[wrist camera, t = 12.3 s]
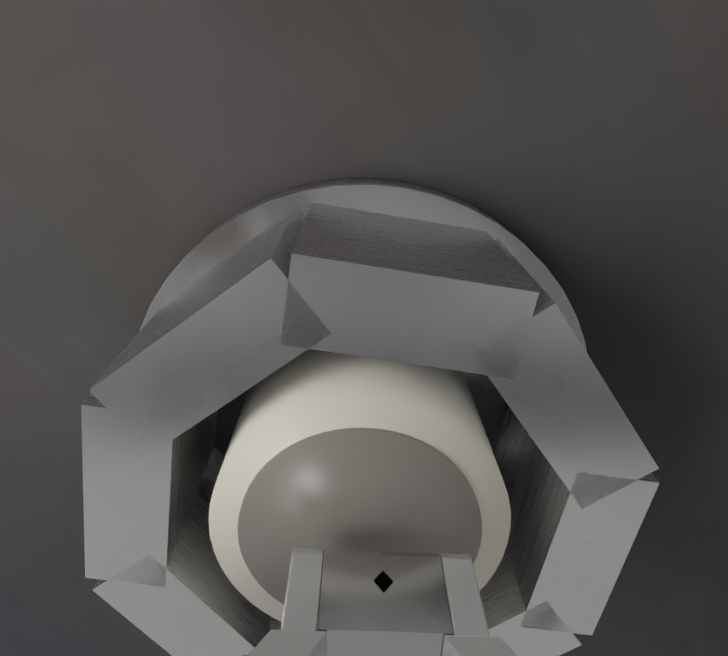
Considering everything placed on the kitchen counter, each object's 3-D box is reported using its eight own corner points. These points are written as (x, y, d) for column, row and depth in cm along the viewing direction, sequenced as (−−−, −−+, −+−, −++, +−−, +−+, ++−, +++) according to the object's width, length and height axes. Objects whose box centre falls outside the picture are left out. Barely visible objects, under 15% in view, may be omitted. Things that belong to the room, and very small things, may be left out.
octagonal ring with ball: (319, 614, 18) (307, 794, 14) (50, 352, 15) (-90, 476, 10) (648, 436, 16) (767, 582, 11) (422, 70, 12) (461, 62, 8)
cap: (400, 534, 16) (414, 678, 12) (212, 454, 15) (160, 584, 11) (514, 374, 14) (574, 484, 10) (308, 270, 13) (288, 349, 9)
